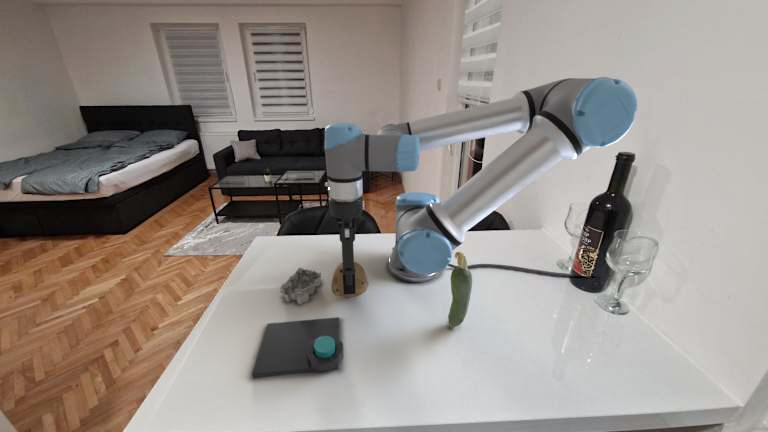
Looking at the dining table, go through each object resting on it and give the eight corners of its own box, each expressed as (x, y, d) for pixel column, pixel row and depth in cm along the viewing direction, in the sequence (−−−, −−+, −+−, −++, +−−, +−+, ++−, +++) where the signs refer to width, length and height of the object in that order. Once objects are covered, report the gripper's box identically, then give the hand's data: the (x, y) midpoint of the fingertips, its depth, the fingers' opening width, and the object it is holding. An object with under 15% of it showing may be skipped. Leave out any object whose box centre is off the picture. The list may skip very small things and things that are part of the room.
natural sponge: (375, 293, 80) (375, 260, 76) (355, 313, 73) (353, 279, 69) (348, 281, 84) (346, 250, 80) (326, 299, 77) (323, 266, 73)
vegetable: (466, 324, 69) (477, 248, 61) (464, 338, 66) (475, 259, 57) (446, 319, 71) (454, 245, 63) (444, 332, 67) (452, 255, 59)
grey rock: (304, 306, 75) (302, 293, 73) (278, 300, 77) (276, 287, 75) (324, 281, 84) (323, 269, 83) (300, 276, 86) (299, 264, 85)
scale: (343, 320, 70) (342, 310, 69) (343, 373, 58) (342, 362, 57) (268, 327, 69) (266, 317, 67) (251, 383, 56) (248, 371, 55)
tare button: (335, 341, 62) (335, 335, 61) (335, 357, 58) (334, 351, 57) (315, 343, 61) (314, 336, 60) (313, 360, 57) (313, 353, 57)
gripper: (330, 180, 78) (335, 251, 87) (325, 220, 55) (332, 311, 64) (359, 179, 79) (361, 249, 88) (366, 219, 56) (367, 308, 65)
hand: (349, 276), depth 76 cm, fingers open, 13 cm apart
